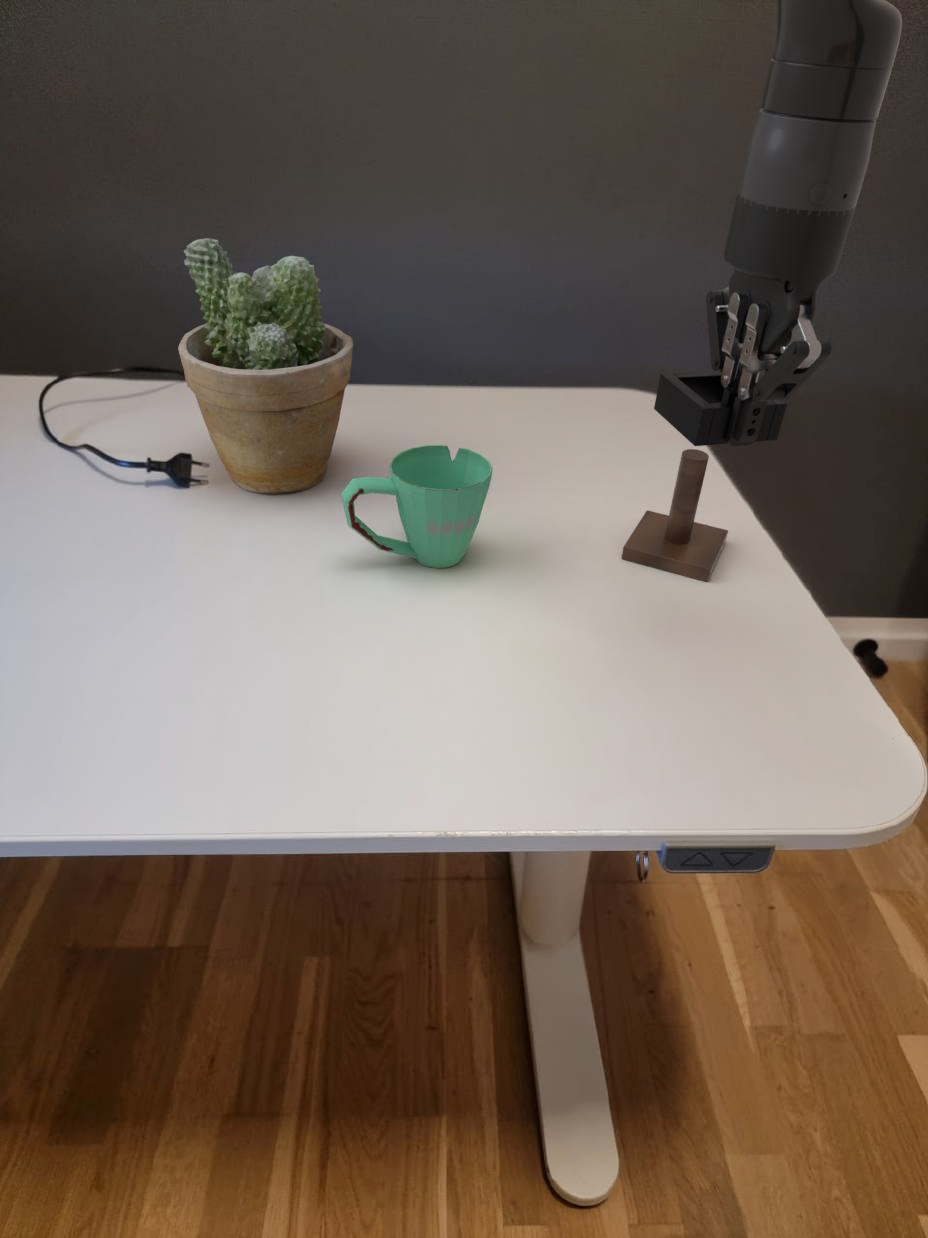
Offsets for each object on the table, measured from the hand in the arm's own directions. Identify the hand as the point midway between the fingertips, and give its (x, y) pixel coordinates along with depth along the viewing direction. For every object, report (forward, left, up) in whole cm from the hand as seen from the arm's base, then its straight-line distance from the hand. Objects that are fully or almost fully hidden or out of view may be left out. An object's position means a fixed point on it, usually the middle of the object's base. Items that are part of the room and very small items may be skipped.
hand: (733, 438), depth 67 cm
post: (+5, -16, -20) cm, 26 cm away
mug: (+28, -1, -20) cm, 34 cm away
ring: (+2, -2, 0) cm, 3 cm away
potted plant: (+51, -10, -20) cm, 55 cm away
